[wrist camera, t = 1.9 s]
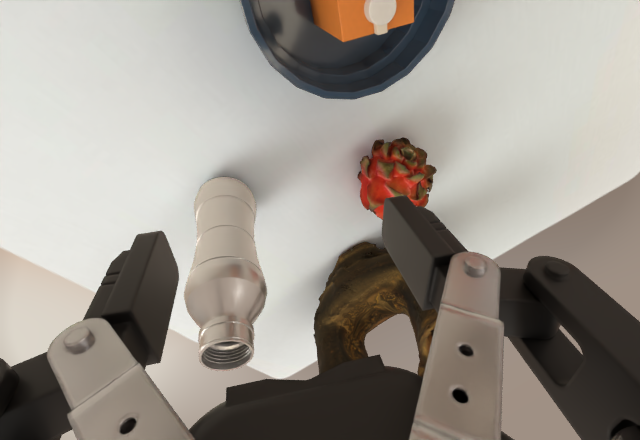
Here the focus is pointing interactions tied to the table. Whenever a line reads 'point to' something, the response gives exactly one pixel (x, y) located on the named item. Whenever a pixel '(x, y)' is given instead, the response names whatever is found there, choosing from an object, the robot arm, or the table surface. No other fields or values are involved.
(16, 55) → the table surface
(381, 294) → the pottery vessel
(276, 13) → the bowl
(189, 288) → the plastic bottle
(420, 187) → the dragon fruit
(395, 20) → the carton
